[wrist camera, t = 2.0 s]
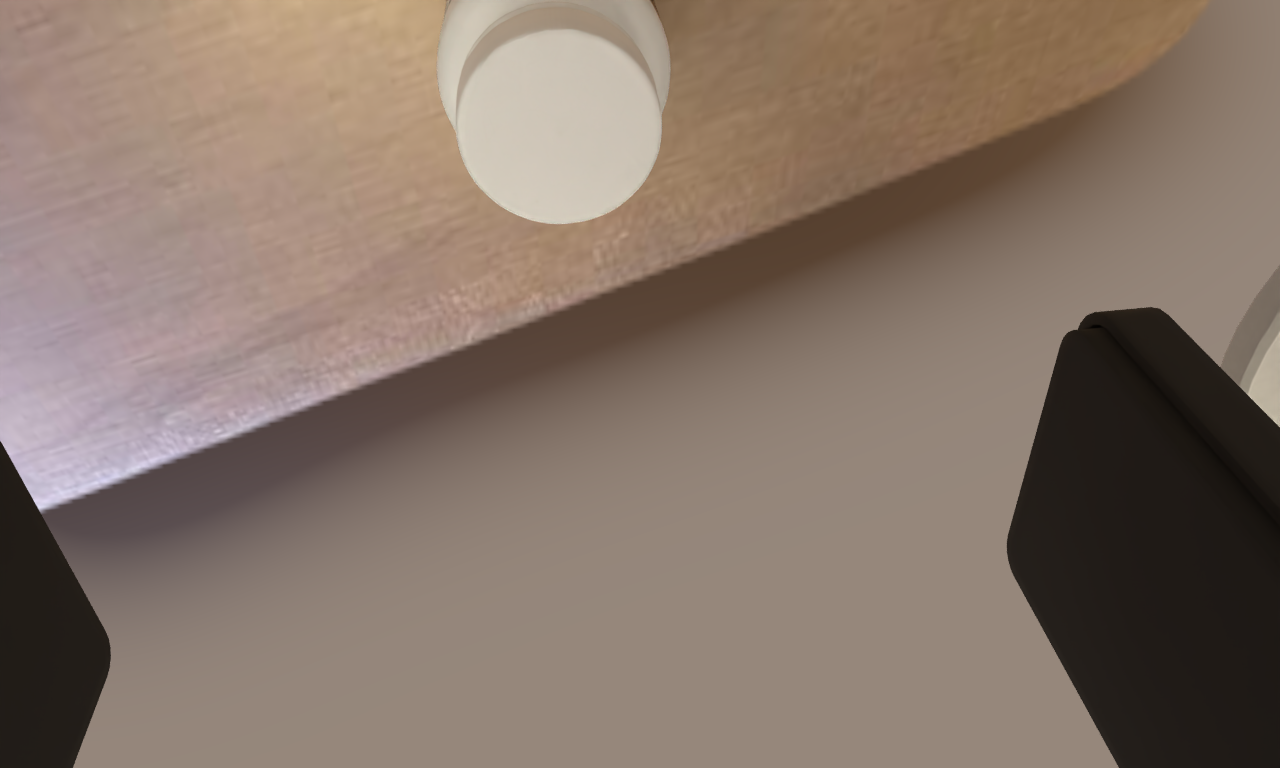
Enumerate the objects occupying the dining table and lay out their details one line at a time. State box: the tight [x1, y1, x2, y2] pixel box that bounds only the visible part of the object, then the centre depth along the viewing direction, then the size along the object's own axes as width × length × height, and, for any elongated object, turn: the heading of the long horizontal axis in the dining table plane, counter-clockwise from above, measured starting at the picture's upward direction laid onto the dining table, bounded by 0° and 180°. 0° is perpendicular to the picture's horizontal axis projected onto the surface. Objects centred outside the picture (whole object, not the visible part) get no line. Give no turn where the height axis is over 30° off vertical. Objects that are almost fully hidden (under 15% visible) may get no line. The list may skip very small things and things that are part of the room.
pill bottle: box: [437, 0, 671, 224], centre depth 19 cm, size 4×4×8 cm
